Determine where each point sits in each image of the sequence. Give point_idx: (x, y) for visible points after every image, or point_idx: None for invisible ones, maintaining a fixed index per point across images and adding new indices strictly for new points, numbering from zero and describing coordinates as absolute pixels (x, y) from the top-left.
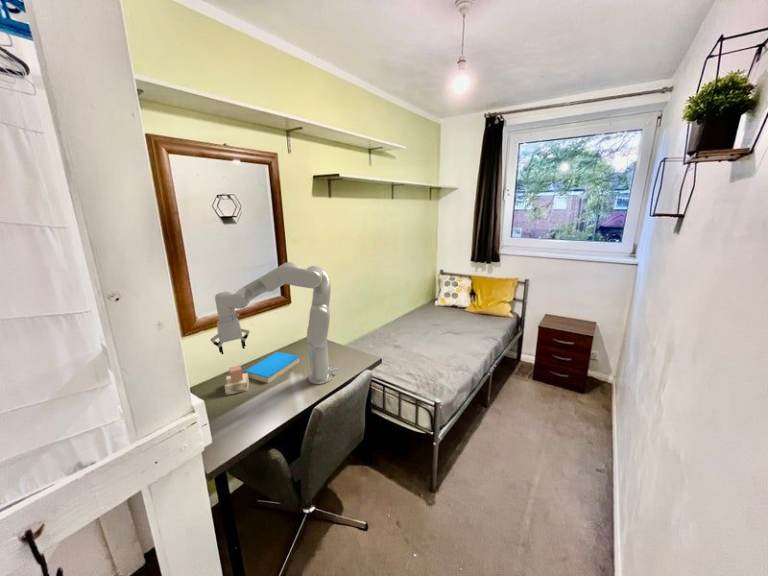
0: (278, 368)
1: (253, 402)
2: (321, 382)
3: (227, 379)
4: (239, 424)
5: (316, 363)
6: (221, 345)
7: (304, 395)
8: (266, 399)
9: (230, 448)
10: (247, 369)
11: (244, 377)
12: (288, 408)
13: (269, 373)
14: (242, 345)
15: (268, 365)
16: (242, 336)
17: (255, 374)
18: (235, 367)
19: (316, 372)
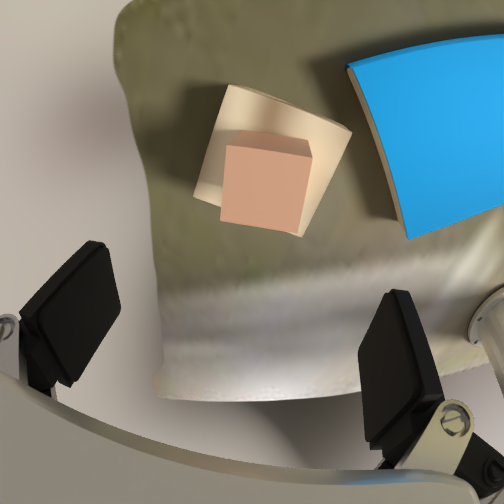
0: (482, 199)
1: (284, 302)
2: (475, 345)
3: (223, 127)
4: (214, 354)
5: (500, 387)
6: (50, 343)
7: None
8: (326, 315)
9: (186, 388)
10: (371, 63)
11: (313, 176)
12: (344, 376)
13: (433, 210)
14: (367, 381)
15: (473, 124)
16: (445, 472)
17: (384, 152)
18: (269, 173)
19: (489, 358)
